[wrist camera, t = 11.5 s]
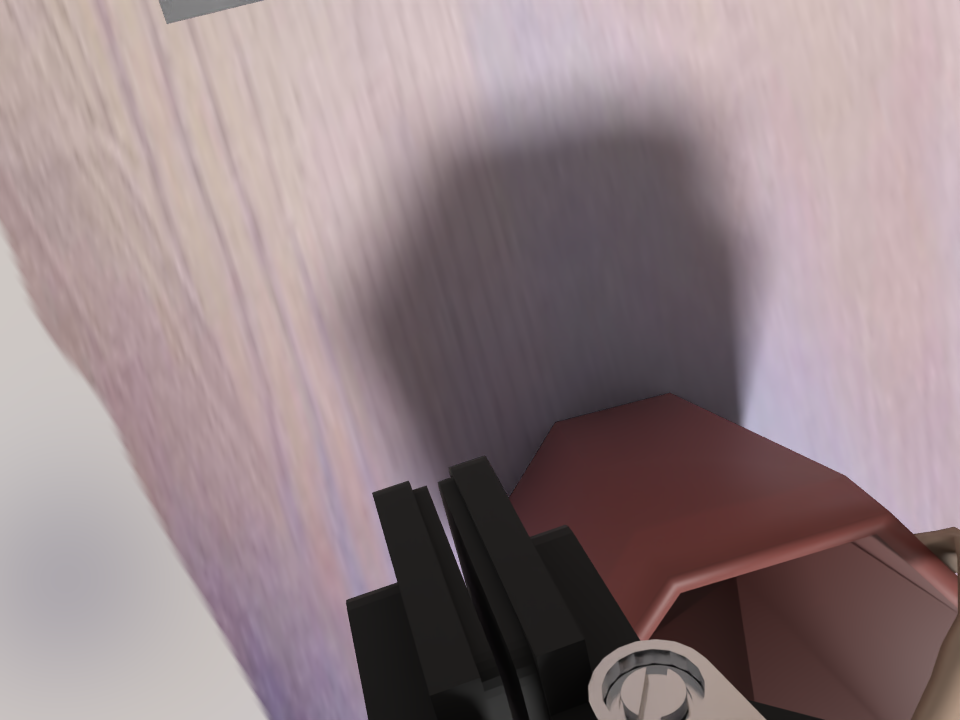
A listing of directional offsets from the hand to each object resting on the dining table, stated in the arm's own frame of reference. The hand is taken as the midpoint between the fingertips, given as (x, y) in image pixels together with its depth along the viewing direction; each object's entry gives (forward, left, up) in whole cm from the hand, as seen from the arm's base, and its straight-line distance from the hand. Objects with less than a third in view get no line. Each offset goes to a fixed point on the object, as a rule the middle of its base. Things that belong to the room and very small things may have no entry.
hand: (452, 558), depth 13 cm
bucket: (+6, +30, -35) cm, 47 cm away
